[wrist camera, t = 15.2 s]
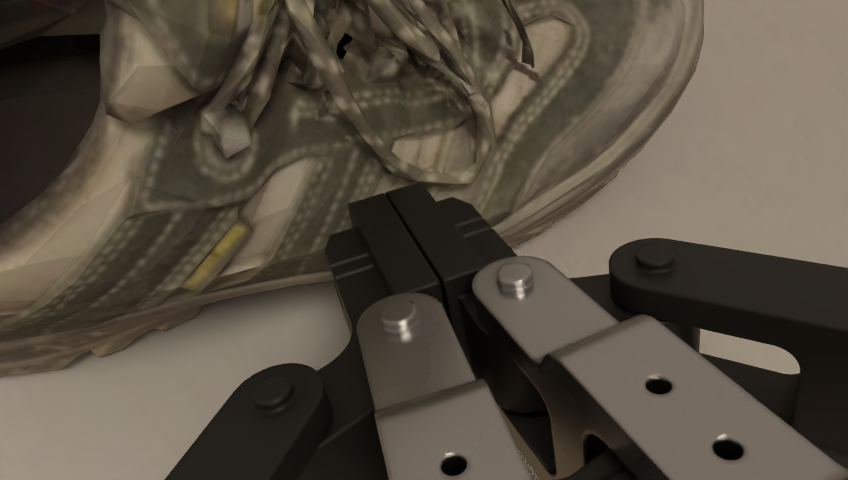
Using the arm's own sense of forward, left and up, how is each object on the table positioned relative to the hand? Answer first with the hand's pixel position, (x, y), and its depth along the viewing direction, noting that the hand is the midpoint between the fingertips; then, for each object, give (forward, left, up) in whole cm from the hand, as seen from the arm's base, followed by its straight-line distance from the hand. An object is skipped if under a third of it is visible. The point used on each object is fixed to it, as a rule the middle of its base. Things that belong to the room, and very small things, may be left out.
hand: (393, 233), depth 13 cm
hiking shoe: (+2, -4, -5) cm, 6 cm away
